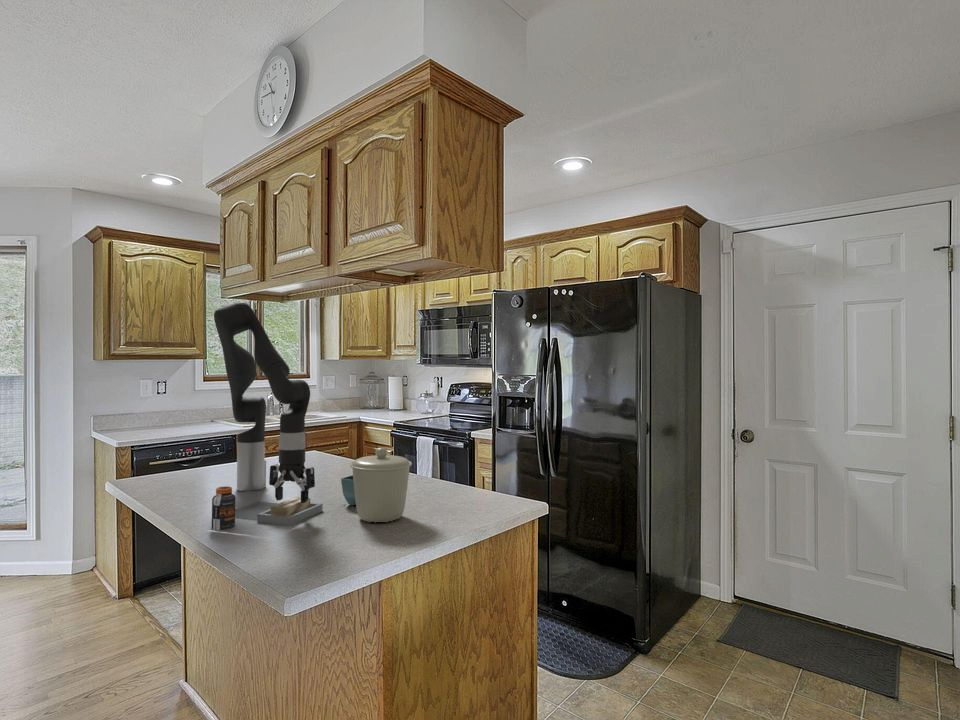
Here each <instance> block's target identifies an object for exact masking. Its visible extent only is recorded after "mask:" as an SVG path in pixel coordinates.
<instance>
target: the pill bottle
mask: <svg viewBox="0 0 960 720" xmlns="http://www.w3.org/2000/svg"><path fill="white" fill-rule="evenodd" d="M215 493H216V494H215V495H214V496H212V499H211V529H212V530H213V531H216V532H219V531H224V530H230V529H232V528H234V527H236V518H235V510H236V496H235V494H233V487H232V486H228V485H227V486H219V487H216V489H215Z"/></svg>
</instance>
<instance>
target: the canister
mask: <svg viewBox="0 0 960 720" xmlns="http://www.w3.org/2000/svg"><path fill="white" fill-rule="evenodd" d="M412 464H413V463H412V461H410V460H408V459H407V458H406V457H404V456H400V455H392V454H391V455H389V454H388V450H387V449H386V447H377V448H376V450H375V455H367V456H362V457H359V458H356V459H355V460H354V461H353V462H350V464H349V466H350V468H352V475H353V481H354V491H355V500H356V513H357V515H358V517H359V518H360V520H362V521H364V522H366V521H367V523H370V522H375V523H374V524H377V523H376V522H386V523H390V522H389V521H391V522H394V521H393V520H395V521H397V520H399V519H401V517H402V516H403V514H404V511H405V508H406V507H405V505H406V501H407V500H406V499H407V492H408V486H409V485H408V484H409V483H408V482H409V477H410V467H411V466H412ZM396 519H397V520H396Z"/></svg>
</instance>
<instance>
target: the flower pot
mask: <svg viewBox="0 0 960 720" xmlns="http://www.w3.org/2000/svg"><path fill="white" fill-rule="evenodd" d="M340 481H341V489H342V494H343V496H344V499H345V501H346V502H347V504H348V505H349V504H351V505H350V506H353V505H356V500H355V491H354V481H353V474H352V475H348V476H344V477H341V478H340Z"/></svg>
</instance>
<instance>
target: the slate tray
mask: <svg viewBox="0 0 960 720" xmlns="http://www.w3.org/2000/svg"><path fill="white" fill-rule="evenodd" d="M321 512H323V503H317V502H310V508H308V509H306V510H303V511H301V512H299V513H296V514H294V515H292V516H280V515H271V509H269V510H267V511H264V512H262V513H259V514H257V521H256V522H257V523H264V524H273V525H280V526H287V527H291V526H293V525H296V524H298V523H300V522H301V521H303V520H306V519H308V518H310V517H313V516H315V515H317V514H319V513H321Z"/></svg>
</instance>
